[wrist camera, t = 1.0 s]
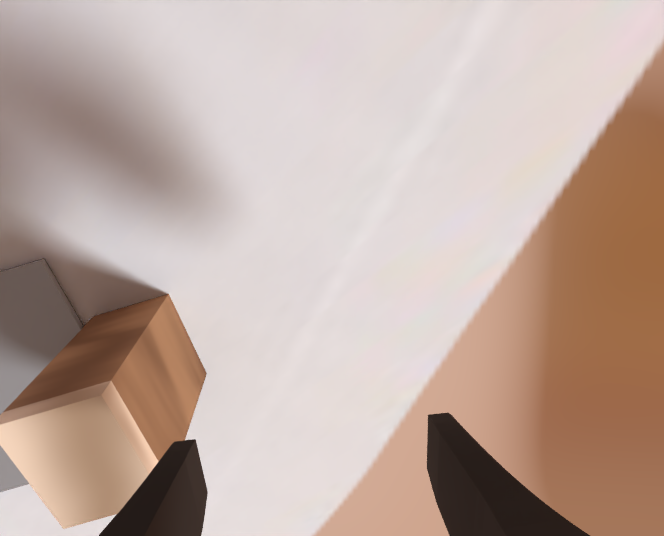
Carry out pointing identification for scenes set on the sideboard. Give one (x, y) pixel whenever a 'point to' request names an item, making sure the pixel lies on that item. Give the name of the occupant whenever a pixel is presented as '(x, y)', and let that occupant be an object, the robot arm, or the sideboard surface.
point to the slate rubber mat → (29, 338)
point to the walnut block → (105, 411)
